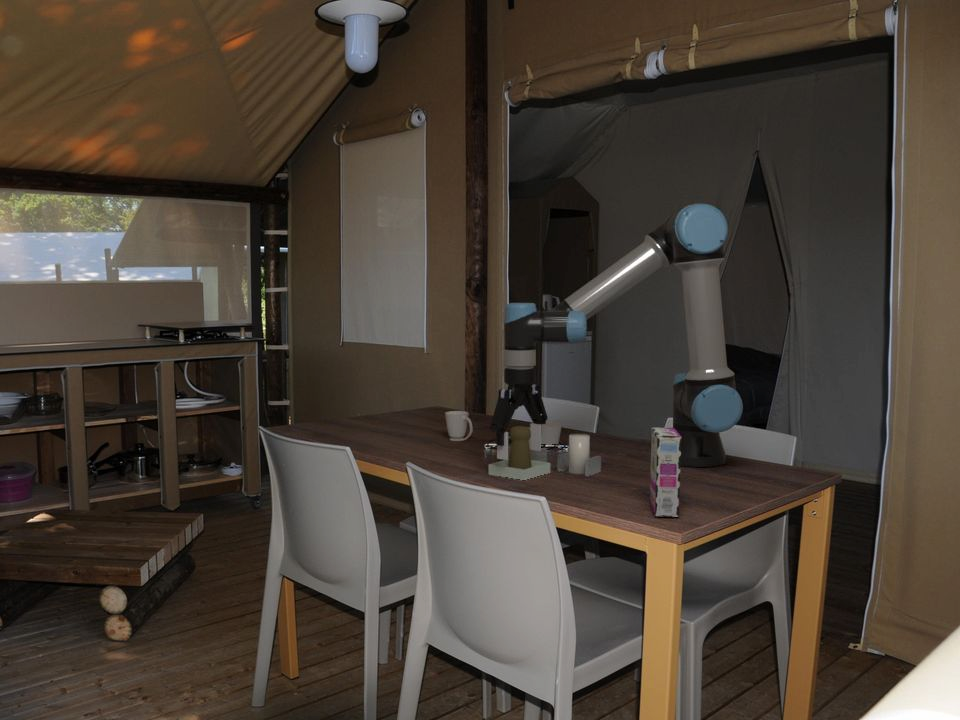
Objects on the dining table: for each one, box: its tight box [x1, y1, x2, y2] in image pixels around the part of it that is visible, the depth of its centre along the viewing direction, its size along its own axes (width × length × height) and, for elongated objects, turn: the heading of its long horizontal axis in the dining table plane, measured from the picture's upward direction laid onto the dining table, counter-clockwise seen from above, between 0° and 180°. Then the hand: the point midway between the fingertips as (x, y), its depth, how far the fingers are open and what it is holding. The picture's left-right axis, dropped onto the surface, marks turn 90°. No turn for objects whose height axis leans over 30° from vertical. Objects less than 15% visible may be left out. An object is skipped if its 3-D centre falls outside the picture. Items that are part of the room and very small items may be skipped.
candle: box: [529, 421, 563, 445], centre depth 241 cm, size 9×9×6 cm
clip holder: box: [508, 445, 602, 477], centre depth 213 cm, size 25×6×4 cm, turn 51°
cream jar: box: [568, 433, 591, 475], centre depth 208 cm, size 5×5×9 cm
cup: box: [444, 410, 474, 442], centre depth 250 cm, size 7×10×8 cm
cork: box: [508, 425, 532, 470], centre depth 206 cm, size 6×6×11 cm
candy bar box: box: [649, 427, 682, 518], centre depth 172 cm, size 11×5×16 cm, turn 175°
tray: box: [488, 459, 551, 481], centre depth 206 cm, size 11×11×2 cm
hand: (519, 454), depth 206 cm, fingers open, 13 cm apart
